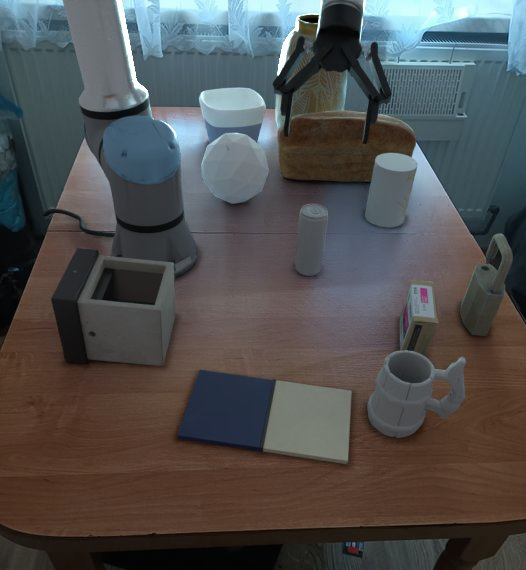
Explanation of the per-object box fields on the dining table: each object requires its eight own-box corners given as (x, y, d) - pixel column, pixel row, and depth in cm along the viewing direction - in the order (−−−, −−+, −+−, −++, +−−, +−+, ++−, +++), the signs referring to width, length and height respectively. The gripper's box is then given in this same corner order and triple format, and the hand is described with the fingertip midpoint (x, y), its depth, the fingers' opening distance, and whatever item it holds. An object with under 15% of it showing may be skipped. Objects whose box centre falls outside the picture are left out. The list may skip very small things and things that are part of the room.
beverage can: (299, 279, 96) (305, 219, 88) (291, 263, 99) (296, 204, 91) (324, 275, 97) (333, 216, 89) (315, 260, 100) (323, 201, 92)
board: (177, 438, 70) (177, 434, 69) (199, 373, 79) (199, 368, 78) (347, 464, 68) (348, 460, 67) (350, 394, 77) (351, 390, 76)
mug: (363, 393, 77) (379, 331, 68) (447, 401, 76) (473, 339, 68) (366, 437, 71) (383, 374, 63) (456, 445, 71) (486, 383, 62)
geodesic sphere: (264, 200, 104) (270, 123, 102) (190, 194, 105) (196, 117, 103) (267, 211, 119) (273, 144, 117) (203, 206, 119) (208, 139, 118)
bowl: (195, 134, 139) (193, 89, 132) (252, 129, 143) (253, 85, 135) (209, 160, 129) (208, 112, 121) (270, 154, 133) (272, 107, 125)
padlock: (480, 304, 93) (511, 228, 82) (491, 336, 87) (526, 258, 76) (456, 303, 93) (485, 226, 82) (466, 334, 87) (498, 256, 76)
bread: (411, 187, 123) (426, 128, 113) (276, 184, 122) (279, 123, 112) (401, 163, 131) (413, 106, 122) (274, 160, 130) (277, 102, 121)
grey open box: (163, 372, 79) (159, 308, 71) (65, 363, 79) (50, 298, 70) (175, 318, 88) (174, 256, 80) (87, 310, 88) (76, 246, 79)
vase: (268, 125, 146) (273, 9, 127) (329, 123, 148) (343, 9, 130) (281, 152, 133) (288, 29, 115) (347, 149, 136) (365, 28, 117)
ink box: (398, 319, 89) (410, 277, 83) (422, 322, 89) (435, 281, 83) (399, 362, 82) (411, 320, 76) (424, 365, 81) (439, 323, 76)
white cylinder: (403, 229, 109) (417, 173, 101) (363, 224, 110) (374, 168, 102) (404, 210, 115) (417, 155, 107) (366, 205, 116) (376, 150, 108)
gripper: (410, 34, 95) (395, 152, 95) (271, 23, 98) (256, 139, 97) (419, 6, 88) (402, 134, 88) (268, -5, 90) (251, 120, 90)
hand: (325, 137), depth 93 cm, fingers open, 13 cm apart
